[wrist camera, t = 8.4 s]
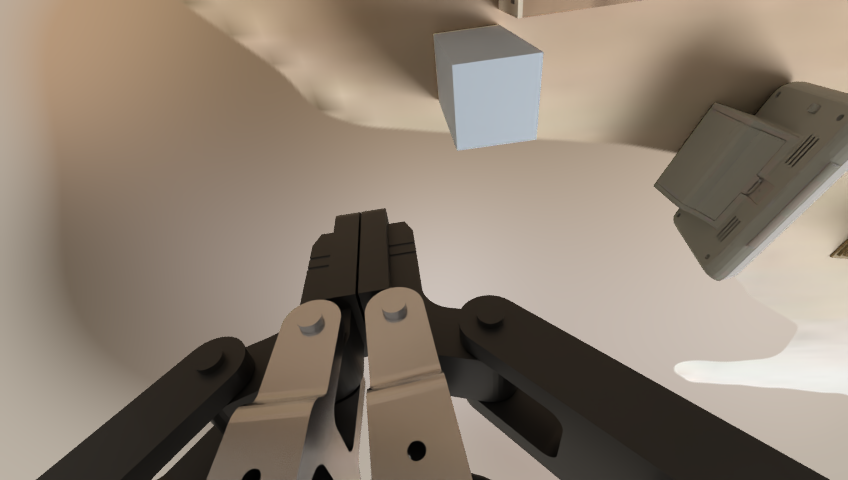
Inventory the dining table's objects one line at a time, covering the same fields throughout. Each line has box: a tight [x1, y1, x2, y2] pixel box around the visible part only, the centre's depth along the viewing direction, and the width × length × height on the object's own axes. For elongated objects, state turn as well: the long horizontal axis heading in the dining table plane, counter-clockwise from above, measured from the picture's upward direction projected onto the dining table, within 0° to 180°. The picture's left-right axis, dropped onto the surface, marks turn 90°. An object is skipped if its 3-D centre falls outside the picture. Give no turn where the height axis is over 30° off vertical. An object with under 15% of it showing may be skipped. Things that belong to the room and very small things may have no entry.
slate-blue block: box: [433, 24, 543, 150], centre depth 26 cm, size 5×5×10 cm
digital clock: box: [654, 82, 848, 281], centre depth 32 cm, size 16×9×11 cm, turn 152°
